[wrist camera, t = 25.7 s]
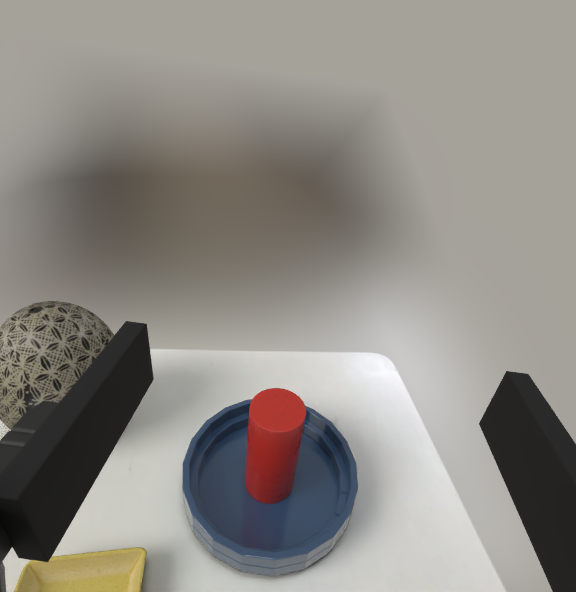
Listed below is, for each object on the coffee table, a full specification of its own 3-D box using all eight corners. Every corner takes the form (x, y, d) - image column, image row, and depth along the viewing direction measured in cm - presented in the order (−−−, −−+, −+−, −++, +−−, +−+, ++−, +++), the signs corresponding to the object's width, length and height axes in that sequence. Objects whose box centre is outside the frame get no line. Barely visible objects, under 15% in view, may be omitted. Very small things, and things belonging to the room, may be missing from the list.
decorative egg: (121, 465, 37) (96, 348, 29) (-13, 476, 35) (-78, 352, 27) (140, 381, 47) (125, 277, 39) (37, 386, 45) (0, 276, 37)
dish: (346, 429, 44) (351, 408, 42) (356, 593, 30) (365, 573, 28) (210, 410, 44) (209, 389, 42) (157, 564, 30) (153, 542, 28)
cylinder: (295, 461, 39) (307, 391, 33) (291, 507, 34) (304, 436, 29) (249, 454, 39) (254, 384, 34) (240, 500, 35) (244, 427, 29)
